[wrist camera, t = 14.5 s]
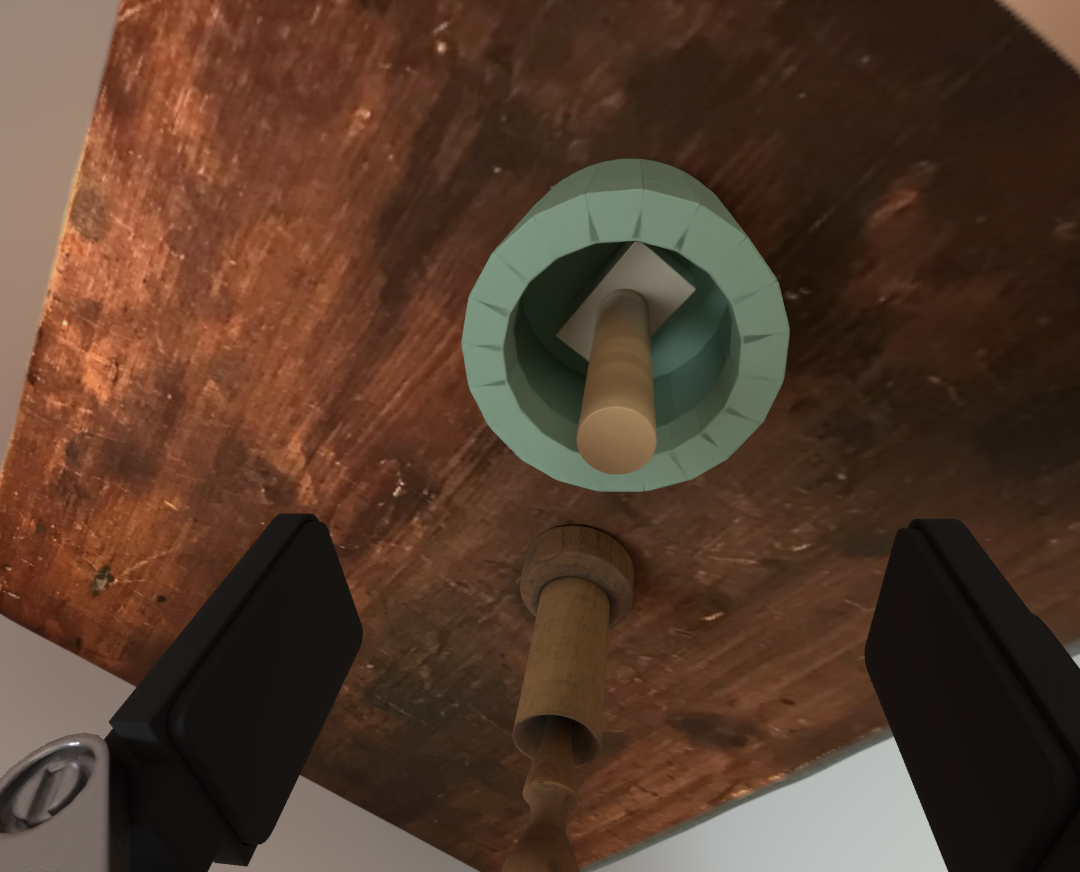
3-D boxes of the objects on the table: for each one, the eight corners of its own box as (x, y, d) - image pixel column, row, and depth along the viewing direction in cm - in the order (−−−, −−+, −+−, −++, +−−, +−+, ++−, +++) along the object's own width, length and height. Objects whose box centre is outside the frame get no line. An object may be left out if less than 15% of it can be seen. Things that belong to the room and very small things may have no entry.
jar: (498, 169, 25) (437, 204, 17) (752, 147, 23) (810, 175, 15) (524, 388, 30) (485, 491, 22) (733, 383, 28) (770, 493, 20)
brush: (637, 222, 24) (639, 332, 13) (690, 269, 25) (734, 411, 14) (562, 312, 27) (510, 469, 16) (612, 352, 27) (597, 531, 16)
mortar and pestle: (503, 555, 36) (402, 906, 20) (586, 505, 33) (543, 869, 18) (572, 621, 38) (528, 986, 22) (656, 579, 35) (672, 963, 20)
